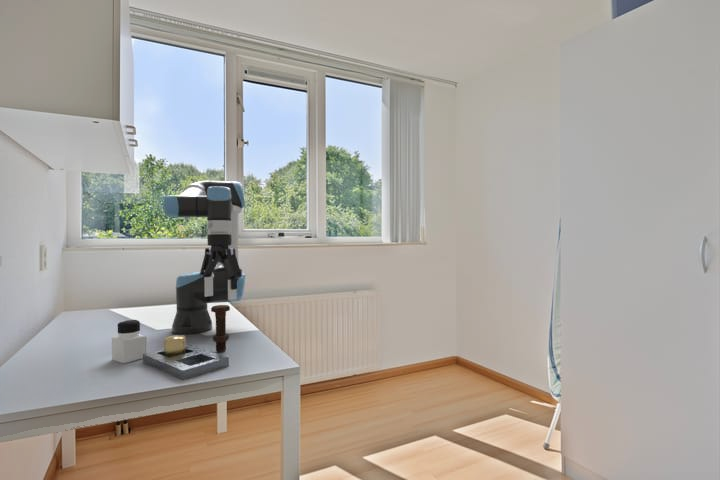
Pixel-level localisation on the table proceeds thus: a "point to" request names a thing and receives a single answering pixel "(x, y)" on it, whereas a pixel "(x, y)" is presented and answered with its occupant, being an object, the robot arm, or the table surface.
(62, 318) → the table surface
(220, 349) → the bolt
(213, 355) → the hole plate
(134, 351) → the medicine bottle
